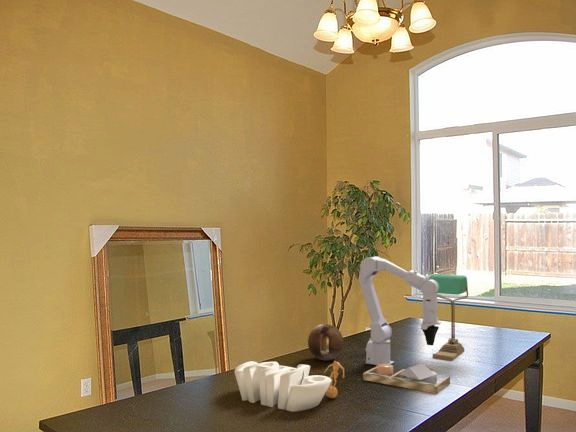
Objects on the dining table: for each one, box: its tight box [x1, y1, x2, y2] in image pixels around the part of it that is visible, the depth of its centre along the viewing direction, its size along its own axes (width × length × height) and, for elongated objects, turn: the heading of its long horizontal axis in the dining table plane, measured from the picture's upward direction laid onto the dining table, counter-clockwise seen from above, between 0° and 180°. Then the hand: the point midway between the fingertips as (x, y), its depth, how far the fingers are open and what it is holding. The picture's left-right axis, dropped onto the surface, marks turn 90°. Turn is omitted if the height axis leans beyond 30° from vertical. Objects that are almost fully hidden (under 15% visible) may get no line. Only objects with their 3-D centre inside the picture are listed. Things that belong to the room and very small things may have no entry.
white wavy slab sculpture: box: [234, 360, 332, 413], centre depth 176 cm, size 35×16×11 cm, turn 55°
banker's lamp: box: [428, 273, 469, 362], centre depth 234 cm, size 16×21×35 cm
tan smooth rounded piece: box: [376, 364, 394, 377], centre depth 200 cm, size 6×6×4 cm
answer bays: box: [362, 365, 451, 394], centre depth 195 cm, size 28×14×3 cm, turn 55°
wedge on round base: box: [400, 363, 438, 385], centre depth 193 cm, size 9×7×13 cm
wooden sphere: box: [307, 323, 344, 362], centre depth 226 cm, size 15×15×15 cm
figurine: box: [324, 360, 345, 399], centre depth 177 cm, size 8×6×12 cm
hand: (430, 344), depth 210 cm, fingers closed
